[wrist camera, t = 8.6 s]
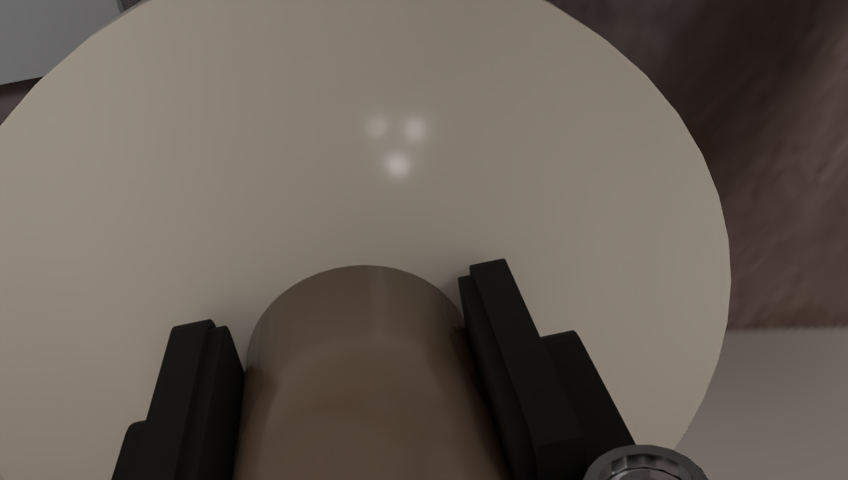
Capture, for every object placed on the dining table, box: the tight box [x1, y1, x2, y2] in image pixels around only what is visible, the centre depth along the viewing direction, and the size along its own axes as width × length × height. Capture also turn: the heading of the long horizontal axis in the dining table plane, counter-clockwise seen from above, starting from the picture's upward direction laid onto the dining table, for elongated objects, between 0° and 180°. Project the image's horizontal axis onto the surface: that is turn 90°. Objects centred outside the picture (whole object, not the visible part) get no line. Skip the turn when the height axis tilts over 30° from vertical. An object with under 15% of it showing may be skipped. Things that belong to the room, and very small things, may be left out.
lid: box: [0, 0, 731, 480], centre depth 11 cm, size 12×12×6 cm
